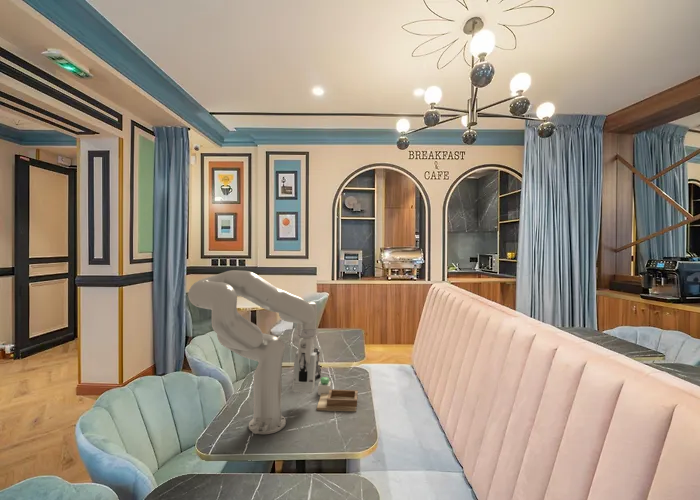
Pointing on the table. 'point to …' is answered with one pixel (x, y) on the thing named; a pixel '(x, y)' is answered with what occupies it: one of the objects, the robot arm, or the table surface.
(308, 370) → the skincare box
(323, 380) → the button
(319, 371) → the figurine
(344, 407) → the wooden display tray
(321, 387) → the console
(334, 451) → the table surface
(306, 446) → the table surface
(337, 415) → the table surface
